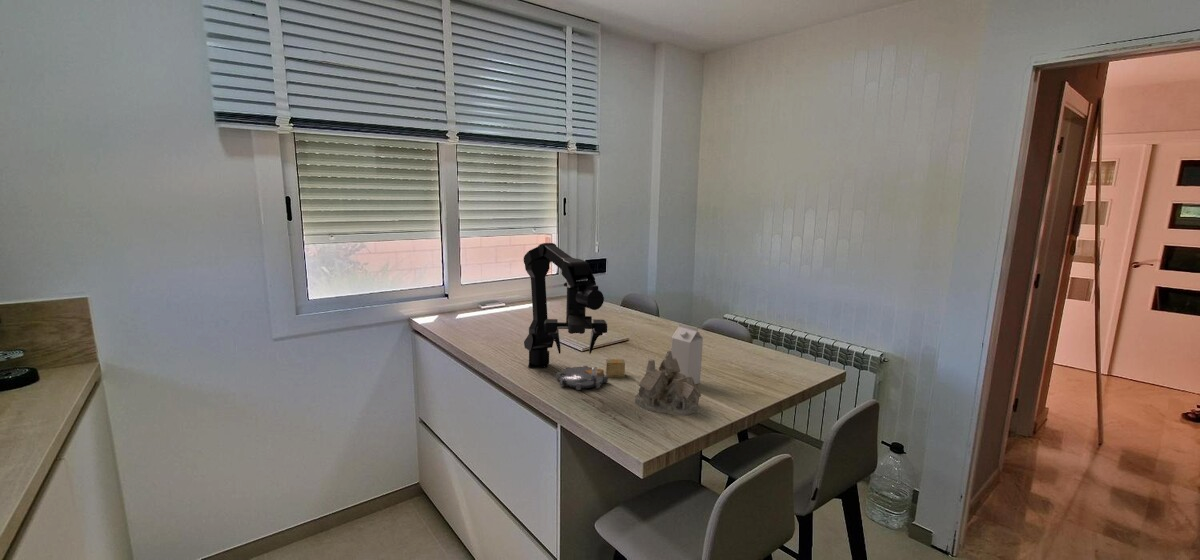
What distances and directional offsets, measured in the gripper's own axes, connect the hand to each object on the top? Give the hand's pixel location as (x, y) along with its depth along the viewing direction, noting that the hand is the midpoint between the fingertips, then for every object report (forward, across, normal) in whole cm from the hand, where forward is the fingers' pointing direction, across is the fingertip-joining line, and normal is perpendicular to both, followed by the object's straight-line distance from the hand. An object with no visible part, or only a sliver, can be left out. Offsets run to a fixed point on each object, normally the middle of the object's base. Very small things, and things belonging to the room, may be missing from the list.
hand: (574, 353), depth 145 cm
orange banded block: (+11, +14, +10) cm, 21 cm away
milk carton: (+11, +36, +4) cm, 38 cm away
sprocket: (+11, +3, +5) cm, 12 cm away
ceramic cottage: (+11, +26, -13) cm, 31 cm away
